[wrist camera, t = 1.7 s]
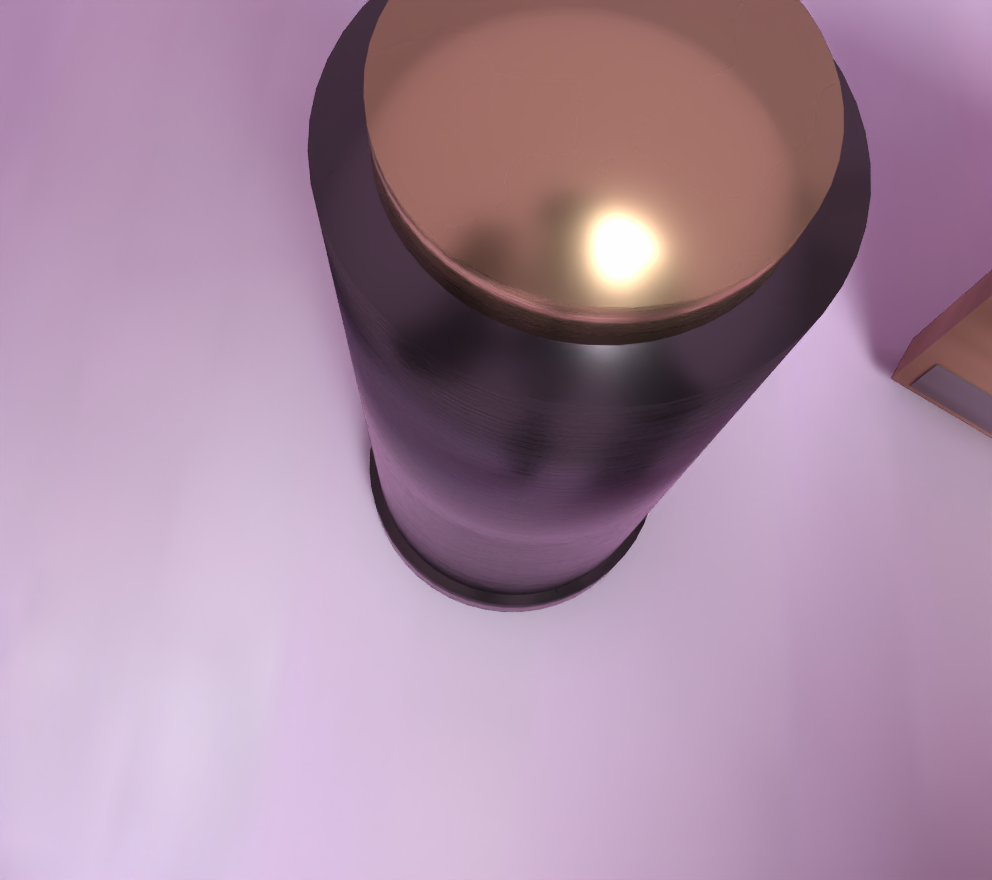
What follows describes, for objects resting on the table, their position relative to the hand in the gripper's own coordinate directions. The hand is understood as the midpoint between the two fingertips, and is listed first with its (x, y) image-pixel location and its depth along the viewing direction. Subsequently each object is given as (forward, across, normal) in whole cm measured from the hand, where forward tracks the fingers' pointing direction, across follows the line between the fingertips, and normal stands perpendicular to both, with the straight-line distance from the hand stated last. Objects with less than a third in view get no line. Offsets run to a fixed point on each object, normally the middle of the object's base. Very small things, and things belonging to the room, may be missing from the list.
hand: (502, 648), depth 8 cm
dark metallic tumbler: (+12, 0, +5) cm, 13 cm away
